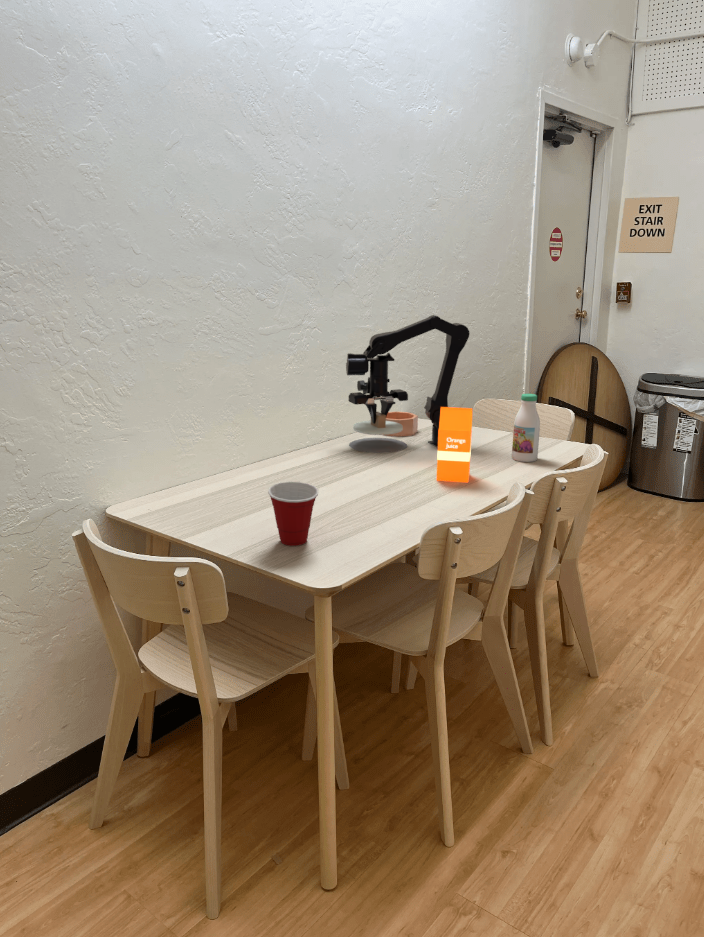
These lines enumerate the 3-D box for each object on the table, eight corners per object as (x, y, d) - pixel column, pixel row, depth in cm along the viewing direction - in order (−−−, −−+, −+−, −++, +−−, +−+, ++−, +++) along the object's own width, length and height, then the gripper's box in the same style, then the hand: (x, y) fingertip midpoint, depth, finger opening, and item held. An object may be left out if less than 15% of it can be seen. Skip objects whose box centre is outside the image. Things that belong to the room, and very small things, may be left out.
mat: (417, 450, 227) (417, 449, 227) (363, 456, 220) (363, 455, 220) (391, 436, 244) (391, 435, 244) (340, 441, 237) (340, 440, 237)
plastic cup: (285, 555, 148) (284, 500, 144) (260, 539, 156) (258, 487, 153) (329, 543, 154) (328, 490, 150) (302, 528, 162) (301, 478, 159)
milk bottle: (521, 454, 223) (526, 391, 218) (542, 459, 218) (548, 395, 212) (506, 458, 219) (510, 394, 213) (527, 464, 213) (532, 398, 207)
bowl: (422, 434, 247) (423, 418, 245) (388, 438, 242) (388, 421, 240) (405, 426, 258) (405, 410, 256) (372, 430, 253) (372, 413, 251)
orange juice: (468, 482, 195) (472, 411, 190) (436, 480, 197) (438, 409, 191) (469, 474, 203) (473, 405, 197) (438, 472, 204) (441, 404, 199)
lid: (411, 432, 227) (411, 416, 225) (365, 436, 221) (365, 421, 219) (389, 421, 241) (389, 407, 239) (345, 425, 235) (345, 410, 233)
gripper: (393, 369, 236) (392, 415, 241) (341, 372, 229) (341, 420, 234) (409, 374, 226) (408, 422, 231) (355, 378, 219) (355, 427, 224)
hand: (378, 423), depth 230 cm, fingers closed on lid, 2 cm apart
